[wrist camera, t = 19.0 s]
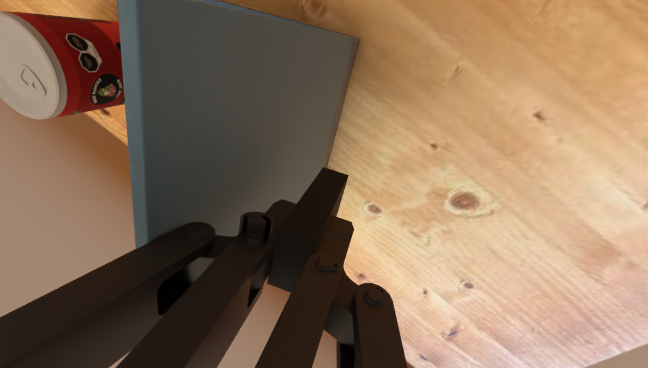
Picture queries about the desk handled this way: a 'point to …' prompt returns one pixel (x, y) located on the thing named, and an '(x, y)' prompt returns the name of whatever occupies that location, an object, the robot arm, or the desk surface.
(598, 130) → the desk surface
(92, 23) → the canned food
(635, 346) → the desk surface
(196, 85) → the lunchbox lid
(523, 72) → the desk surface
